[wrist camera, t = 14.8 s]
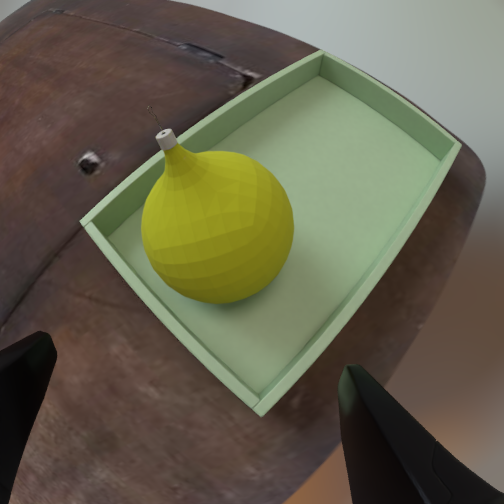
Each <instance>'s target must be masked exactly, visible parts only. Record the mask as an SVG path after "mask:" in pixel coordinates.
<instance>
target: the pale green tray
mask: <svg viewBox="0 0 504 504" xmlns="http://www.w3.org/2000/svg"><path fill="white" fill-rule="evenodd" d="M176 140H177V142H178V143H179V144H180V145H181V146H182V147H183V148H184V149H186V150H188V151H190V152H192V153H200V152H205V151H227V152H235V153H239V154H243V155H246V156H248V157H250V158H252V159H254V160H256V161H258V162H259V163H260V164H261V165H263V166H264V167H265V168H266V169H268V170H269V171H270V172H271V173H273V175H274V176H275V177H276V179H277V180H278V181H279V182H280V184H281V185H282V187H283V188H284V189H285V191H286V194H287V196H288V199H289V201H290V204H291V207H292V211H293V219H294V235H293V242H292V246H291V250H290V253H289V255H288V258H287V260H286V262H285V264H284V265H283V267H282V269H281V270H280V272H279V274H278V275H277V276H276V277H275V278H274V279H273V281H272V282H271V283H270V284H269V285H267V286H266V287H265V288H263V289H262V290H260V291H259V292H258V293H256V294H253V295H251V296H249V297H247V298H245V299H242V300H238V301H235V302H231V303H223V304H211V303H203V302H199V301H196V300H193V299H190V298H187V297H184V296H183V295H181V294H179V293H178V292H176V291H175V290H173V289H172V288H170V287H169V286H168V285H166V283H165V282H164V281H163V280H162V279H161V278H160V277H159V276H158V274H157V273H156V272H155V271H154V270H153V268H152V266H151V264H150V262H149V259H148V257H147V255H146V253H145V250H144V246H143V241H142V233H141V221H142V214H143V209H144V206H145V202H146V199H147V197H148V195H149V193H150V192H151V190H152V188H153V186H154V185H155V183H156V182H157V180H158V179H159V178H160V177H161V176H162V174H163V173H164V171H165V155H164V151H163V150H161V151H159V152H158V153H157V154H156V155H154V156H153V157H152V158H151V159H149V160H148V161H147V162H146V163H144V164H143V165H142V166H141V167H140V168H138V169H137V170H136V171H135V172H134V173H132V174H131V175H130V176H129V177H128V178H126V179H125V180H124V181H123V182H122V183H121V184H119V185H118V186H117V187H116V188H115V189H114V190H113V191H112V192H110V193H109V194H108V195H107V196H106V197H105V198H104V199H103V200H102V201H101V202H99V203H98V204H97V205H96V206H95V207H94V208H93V209H92V210H91V211H90V212H89V213H88V214H87V215H86V216H85V217H84V218H83V219H82V220H80V223H81V224H82V226H83V227H84V228H85V230H86V231H87V233H88V234H89V235H90V237H91V238H92V239H93V241H94V242H95V243H96V244H97V246H98V247H99V248H100V250H101V251H102V252H103V253H104V255H105V256H106V257H107V259H108V260H109V261H110V262H111V264H112V265H113V266H114V267H115V269H116V270H117V271H118V272H119V273H120V275H121V276H122V277H123V278H124V279H125V281H126V282H127V283H128V284H129V285H130V287H131V288H132V289H133V290H134V291H135V292H136V294H137V295H138V296H139V297H140V298H141V299H142V300H143V302H144V303H145V304H146V305H147V306H148V307H149V308H150V309H151V311H152V312H153V313H154V314H155V315H156V316H157V317H158V318H159V319H160V320H161V322H162V323H163V324H164V325H165V326H166V327H167V328H168V329H169V330H170V331H171V332H172V333H173V334H174V335H175V336H176V338H177V339H178V340H179V341H180V342H181V343H182V344H183V345H184V346H185V347H186V348H187V349H188V350H189V351H190V352H191V353H192V354H193V355H194V356H195V357H196V358H197V359H198V360H199V361H200V362H201V363H202V364H203V365H204V366H205V367H206V368H207V369H208V370H209V371H210V372H211V373H213V374H214V375H215V376H216V377H217V378H218V379H219V380H220V381H221V382H222V383H223V384H224V385H225V386H226V387H227V388H229V389H230V390H231V391H232V392H233V393H234V394H235V395H236V396H237V397H238V398H240V399H241V400H242V401H243V402H244V403H245V404H246V405H247V406H249V407H250V408H251V409H253V411H254V412H256V413H257V414H258V415H259V416H260V417H263V416H264V415H265V414H266V413H267V412H268V411H269V410H270V409H271V408H272V407H273V406H274V405H275V404H276V403H277V402H278V401H279V400H280V399H281V398H282V396H283V395H284V394H285V393H286V392H287V391H288V390H289V389H290V388H291V387H292V386H293V385H294V384H295V383H296V382H297V381H298V379H299V378H300V377H301V376H302V375H303V374H304V373H305V372H306V371H307V369H308V368H309V367H310V366H311V365H312V364H313V363H314V362H315V360H316V359H317V358H318V357H319V356H320V355H321V354H322V352H323V351H324V350H325V349H326V348H327V347H328V345H329V344H330V343H331V342H332V341H333V339H334V338H335V337H336V336H337V335H338V333H339V332H340V331H341V330H342V328H343V327H344V326H345V325H346V323H347V322H348V321H349V320H350V318H351V317H352V316H353V315H354V313H355V312H356V311H357V309H358V308H359V307H360V306H361V304H362V303H363V302H364V300H365V299H366V298H367V296H368V295H369V294H370V292H371V291H372V290H373V288H374V287H375V286H376V284H377V283H378V281H379V280H380V279H381V277H382V276H383V275H384V273H385V272H386V270H387V269H388V267H389V266H390V265H391V263H392V262H393V260H394V259H395V257H396V256H397V254H398V253H399V251H400V250H401V248H402V247H403V245H404V244H405V242H406V241H407V239H408V238H409V236H410V235H411V233H412V232H413V230H414V229H415V227H416V225H417V224H418V222H419V221H420V219H421V217H422V216H423V214H424V213H425V211H426V209H427V208H428V206H429V204H430V203H431V201H432V199H433V197H434V196H435V194H436V192H437V191H438V189H439V187H440V185H441V184H442V182H443V180H444V178H445V176H446V175H447V173H448V171H449V169H450V167H451V165H452V163H453V162H454V160H455V158H456V156H457V154H458V152H459V150H460V148H461V146H462V145H461V144H460V143H459V142H458V141H456V139H455V138H453V137H452V136H451V135H450V134H449V133H448V132H446V131H445V130H444V129H443V128H442V127H440V126H439V125H438V124H437V123H435V122H434V121H433V120H432V119H430V118H429V117H428V116H426V115H425V114H424V113H423V112H421V111H420V110H419V109H417V108H416V107H414V106H413V105H412V104H410V103H409V102H408V101H406V100H405V99H403V98H402V97H400V96H399V95H398V94H396V93H395V92H393V91H392V90H390V89H389V88H387V87H386V86H384V85H383V84H381V83H379V82H378V81H376V80H375V79H373V78H371V77H370V76H368V75H367V74H365V73H363V72H362V71H360V70H358V69H356V68H355V67H353V66H351V65H349V64H348V63H346V62H344V61H342V60H340V59H339V58H337V57H335V56H333V55H331V54H329V53H326V52H325V51H323V50H319V51H317V52H315V53H313V54H311V55H309V56H307V57H305V58H304V59H302V60H300V61H298V62H296V63H294V64H292V65H290V66H288V67H287V68H285V69H283V70H281V71H279V72H278V73H276V74H274V75H272V76H271V77H269V78H267V79H265V80H264V81H262V82H260V83H259V84H257V85H255V86H254V87H252V88H250V89H249V90H247V91H245V92H244V93H242V94H241V95H239V96H237V97H236V98H234V99H233V100H231V101H230V102H228V103H227V104H225V105H224V106H222V107H221V108H219V109H218V110H216V111H215V112H213V113H212V114H210V115H209V116H207V117H206V118H204V119H203V120H201V121H200V122H199V123H197V124H196V125H194V126H193V127H192V128H190V129H189V130H187V131H186V132H185V133H183V134H182V135H181V136H179V137H178V138H176Z"/></svg>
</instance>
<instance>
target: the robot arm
mask: <svg viewBox="0 0 504 504" xmlns="http://www.w3.org/2000/svg"><path fill="white" fill-rule="evenodd" d="M56 360H57V351H56V348H55V346H54V343H53V341H52V338H51V336H50V335H49V334H48V333H46V332H42V331H37V332H35V333H33V334H31V335H29V336H28V337H26V338H24V339H22V340H20V341H18V342H16V343H14V344H12V345H10V346H8V347H7V348H5V349H3V350H1V351H0V504H9V500H10V496H11V491H12V488H13V484H14V480H15V477H16V474H17V470H18V467H19V464H20V461H21V458H22V455H23V452H24V449H25V446H26V443H27V440H28V437H29V435H30V432H31V429H32V427H33V424H34V421H35V419H36V416H37V414H38V411H39V409H40V406H41V404H42V402H43V399H44V396H45V393H46V391H47V387H48V384H49V381H50V378H51V375H52V372H53V369H54V366H55V363H56ZM338 402H339V416H340V430H341V439H342V445H343V450H344V456H345V461H346V467H347V473H348V478H349V484H350V490H351V496H352V503H353V504H504V493H502V492H500V491H498V490H497V489H495V488H494V487H492V486H491V485H490V484H488V483H487V482H486V481H484V480H483V479H482V478H480V477H479V476H477V475H476V474H475V473H474V472H472V471H471V470H470V469H469V468H467V467H466V466H465V465H464V464H462V463H461V462H460V461H459V460H458V459H456V458H455V457H454V456H453V455H452V454H451V453H450V452H449V451H448V450H447V449H445V448H444V447H443V446H442V445H441V444H440V443H439V442H438V441H436V439H435V438H434V437H433V436H432V435H431V434H430V433H429V432H428V431H427V430H426V429H425V428H424V427H423V426H422V425H421V424H420V423H419V422H418V421H417V420H416V419H415V418H414V417H413V416H411V414H410V413H408V411H407V410H405V409H404V408H403V407H402V406H401V405H400V404H399V403H398V402H397V401H396V400H395V399H394V398H393V397H392V396H391V395H390V394H389V393H388V392H387V391H386V390H385V389H384V388H383V387H382V386H381V385H380V384H379V383H378V382H377V381H376V380H375V379H374V378H373V377H372V376H371V375H370V374H369V373H368V372H367V371H366V370H365V369H364V368H363V367H362V366H361V365H358V364H352V365H346V366H345V367H344V369H343V372H342V375H341V378H340V381H339V383H338Z"/></svg>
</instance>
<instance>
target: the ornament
mask: <svg viewBox="0 0 504 504" xmlns="http://www.w3.org/2000/svg"><path fill="white" fill-rule="evenodd" d="M150 107H151V106H150ZM151 108H152V107H151ZM148 111H149V110H148ZM150 114H151V113H150ZM153 114H154V113H153ZM154 115H155V114H154ZM155 116H156V115H155ZM154 118H155V117H154ZM156 118H157V117H156ZM156 118H155V119H156ZM156 121H158V120H156ZM158 124H159V123H158ZM159 126H160V125H159ZM160 128H162V127H160ZM162 130H163V129H162ZM162 130H161V132H160V133H159V134H157V136H156V139H157V141H158V143H159V145H160V147H161V149H162V150H163V151H164V155H165V171H164V173H163V174H162V176H161V177H160V178H159V179H158V180H157V182H156V183H155V185H154V186H153V188H152V190H151V192H150V193H149V195H148V197H147V199H146V202H145V206H144V209H143V214H142V221H141V233H142V241H143V246H144V250H145V253H146V255H147V257H148V259H149V262H150V264H151V266H152V268H153V270H154V271H155V272H156V273H157V274H158V276H159V277H160V278H161V279H162V280H163V281H164V282H165V283H166V285H168V286H169V287H170V288H172V289H173V290H175V291H176V292H178V293H179V294H181V295H183V296H184V297H187V298H190V299H193V300H196V301H199V302H203V303H211V304H223V303H231V302H235V301H238V300H242V299H245V298H247V297H249V296H251V295H253V294H256V293H258V292H259V291H260V290H262V289H263V288H265V287H266V286H267V285H269V284H270V283H271V282H272V281H273V279H274V278H275V277H276V276H277V275H278V274H279V272H280V270H281V269H282V267H283V265H284V264H285V262H286V260H287V258H288V255H289V253H290V250H291V246H292V242H293V235H294V219H293V211H292V207H291V204H290V201H289V199H288V196H287V194H286V191H285V189H284V188H283V187H282V185H281V184H280V182H279V181H278V180H277V179H276V177H275V176H274V175H273V173H271V172H270V171H269V170H268V169H266V168H265V167H264V166H263V165H261V164H260V163H259V162H258V161H256V160H254V159H252V158H250V157H248V156H246V155H243V154H239V153H235V152H227V151H205V152H200V153H192V152H190V151H188V150H186V149H184V148H183V147H182V146H181V145H180V144H179V143H178V142H177V140H176V137H175V135H174V133H173V131H172V130H171V129H166V130H163V131H162Z"/></svg>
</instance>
